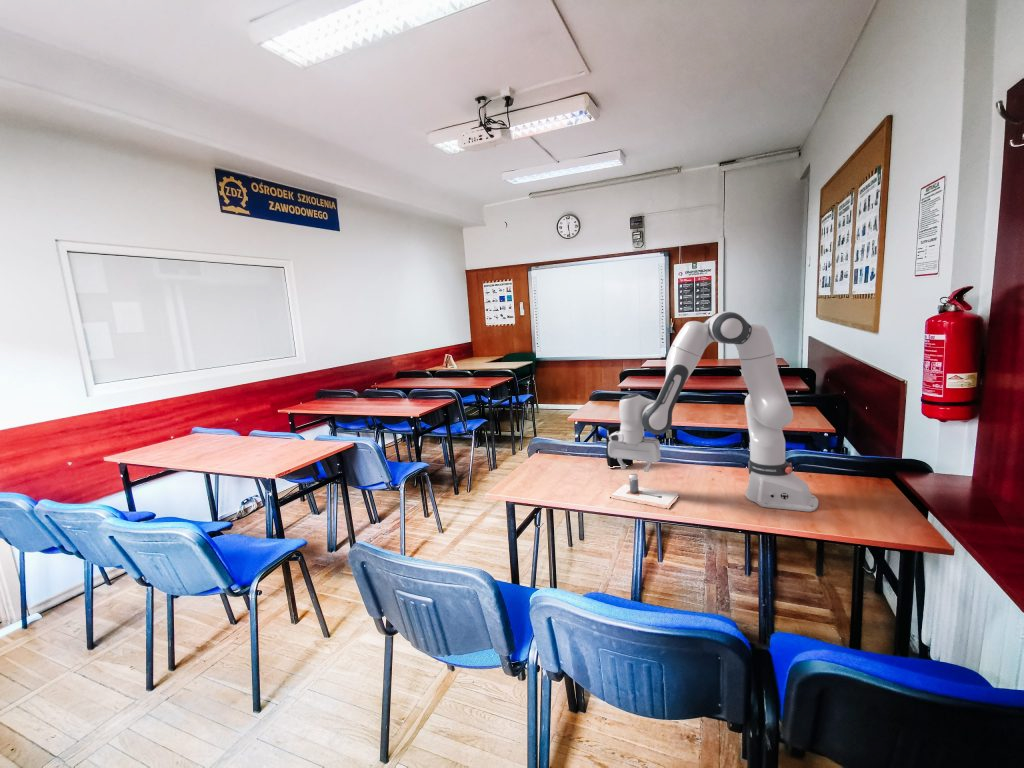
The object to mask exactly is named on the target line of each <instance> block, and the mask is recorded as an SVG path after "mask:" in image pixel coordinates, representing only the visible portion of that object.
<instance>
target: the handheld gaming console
mask: <svg viewBox="0 0 1024 768" xmlns="http://www.w3.org/2000/svg"><path fill="white" fill-rule="evenodd" d="M620 426H621V424H616V425H609V426H606V434H605V439H606V440H605V441H606V449H605V452H606V453H605V454H606V457H605V458H606V464H607V466H610V467H613V466H621V465H620V464H619V462H618V461H617V458H612V457H610V456H609V455H608V443H609V441H610V440H609V436H610V435H611V434H612V433H614V432H616V431H620ZM622 461H623V463H624V464H626V465H630V466H632V465H634V460H630V459H622ZM631 464H632V465H631Z"/></svg>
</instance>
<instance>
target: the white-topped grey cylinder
mask: <svg viewBox="0 0 1024 768" xmlns="http://www.w3.org/2000/svg"><path fill="white" fill-rule="evenodd" d="M628 480H629V485H630V493H632V494H637V493H639V488H638V487H639V476H638V473H630V474H628Z"/></svg>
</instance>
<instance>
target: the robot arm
mask: <svg viewBox="0 0 1024 768" xmlns="http://www.w3.org/2000/svg"><path fill="white" fill-rule="evenodd" d="M713 342H716V343H718V344H719V343H720V344H728V345H734V346H735V347H736V349H737V351H738V358H739V363H740V368H741V373H742V377H743V382H744V383H745V384H744V385H745V386H746V389H747V391H748V394H747V396H746V397H745V399H744V407H745V413H746V415H745V416H746V422H747V429H748V434H749V459H748V462H747V463H748V474H749V475H748V483H747V488H746V491H745V498H747V500H749V501H751V502H754V503H756V504H757V505H758V506H760V507H762V508H769V509H771V508H772V509H781V510H788V511H789V510H790V511H799V512H808V513H809V512H810V513H811V512H813V511H816V510H817V509H818V508H819V499H818V498H817V497H816V495H814V494H811V489H810V486H809V484H808V482H806V481H805V480H803V479H802V478H800V477H799V476H798V475H796V474H795V473H794V472H792V471H793V466H792V465H793V464H792V462H788V461H786V438H785V436H784V432H783V428H785V427H787V426H789V425H790V424H791V422H792V421H793V419H794V410H793V408H792V406H791V404H790V401H789V398H788V395H787V391H786V389H785V387H784V384H783V382H782V378H781V375H780V372H779V368H778V362H777V357H776V353H775V348H774V343H773V341H772V338H771V336H770V333H769V331H768V329H767V327H766V326H764V325H762V324H757V323H754V324H750V322H748V321H747V320H746V319H745V318H744V317H743V316H742V315H740V314H739V313H737V312H733V311H720V312H716V313H714V314H712V315H710V316H709V317H708V318H706V319H705V320H704V321H702V322H701V321H697V320H691V321H687V322H685V324H684V325H683V326H682V327H681V329H680V330H679V332H678V333H677V335H676V336H675V338H674V340H673V342H672V343H671V346H670V348H669V350H668V353H667V356H666V360H665V377H664V378H665V379H664V383H663V385H662V387H661V389H660V392H659V394H658V396H657V398H656V399H655V400H654V399H650V398H647V397H645V396H642V395H641V394H639V393H636V392H635V393H628V394H626V395H623V396H622V397H621V398H620V400H619V403H618V415H619V416H618V417H619V418H618V419H619V420H620V425H621V426H620V431H616V432H614V433H612V434H611V435H610V436H609V440H610V441H609V443H608V455H609V456H610V457H612V458H617V461H618V462H619V464H620V465H621V468H620V469H621V470H626V468H627V467H626V464H624V463H623V461H622V459H630V460H633V461H641V462H645V464H646V465H645V466H644V467H643V472H644V473H649V472H650V466H651V464H652V463H658V462H659V461H660V460H661V459H662V458H661V457H662V455H661V449H660V447H661V445H660V440H659V439H658V438H656V437H653V436H651V437H650V436H645V431H646V432H648V433H649V434H651V435H654V436H656V435H657V436H659V435H664V434H665V433H667V432H668V431H670V429H671V427H672V422H673V410H674V407H675V405H676V403H677V401H678V399H679V397H680V395H681V392H682V390H683V388H684V386H685V384H686V382H687V381H688V380H689V378H690V377H691V375H692V373H693V372H694V370H695V369H696V367H697V366H698V364H699V362H700V360H701V358H702V356H703V354H704V353H705V350H706V349H707V347H708V346H709V345H710V344H712V343H713Z"/></svg>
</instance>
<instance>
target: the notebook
mask: <svg viewBox="0 0 1024 768" xmlns="http://www.w3.org/2000/svg"><path fill="white" fill-rule="evenodd" d="M638 488H639V493H637V494H632V493H630V484H625V483H624V484H622V486H620V487H619V488H618V489H616V491H614V492H613V493H612V494H611V495H613V496H618V497H624V498H629V499H635V500H641V501H645V500H646V502H651V503H656V504H661V505H666V506H668V505H669V504H670V503H671V502H672V501H673V500H674V499H675V498H676V497H677V496H678V495H679V493H677V492H672V491H665V490H659V489H654V488H648V487H641V486H638Z"/></svg>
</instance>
